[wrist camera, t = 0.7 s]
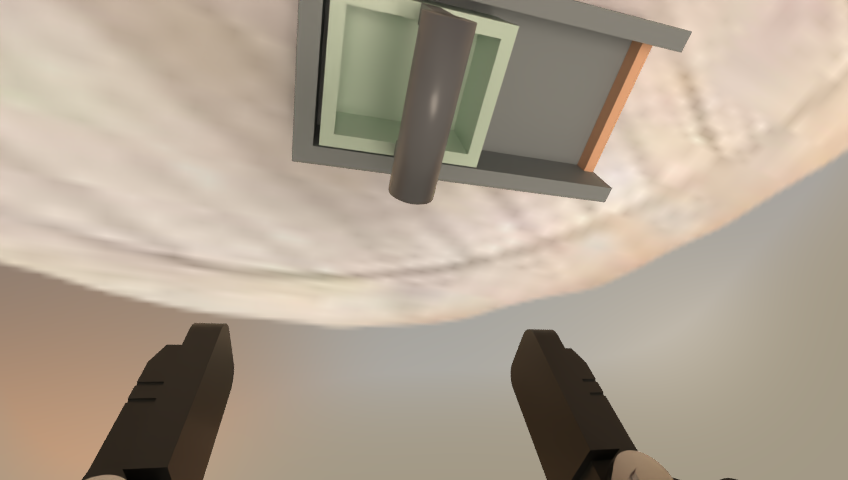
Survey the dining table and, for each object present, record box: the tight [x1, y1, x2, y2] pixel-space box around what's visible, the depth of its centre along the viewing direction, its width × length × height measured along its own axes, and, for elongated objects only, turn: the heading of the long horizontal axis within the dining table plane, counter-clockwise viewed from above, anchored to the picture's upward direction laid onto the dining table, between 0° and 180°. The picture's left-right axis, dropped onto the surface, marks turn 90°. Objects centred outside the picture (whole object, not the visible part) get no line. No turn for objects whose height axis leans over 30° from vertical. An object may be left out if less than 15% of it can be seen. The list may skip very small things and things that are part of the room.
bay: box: [292, 0, 692, 202], centre depth 27 cm, size 12×23×5 cm, turn 78°
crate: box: [319, 0, 519, 204], centre depth 23 cm, size 8×10×11 cm
